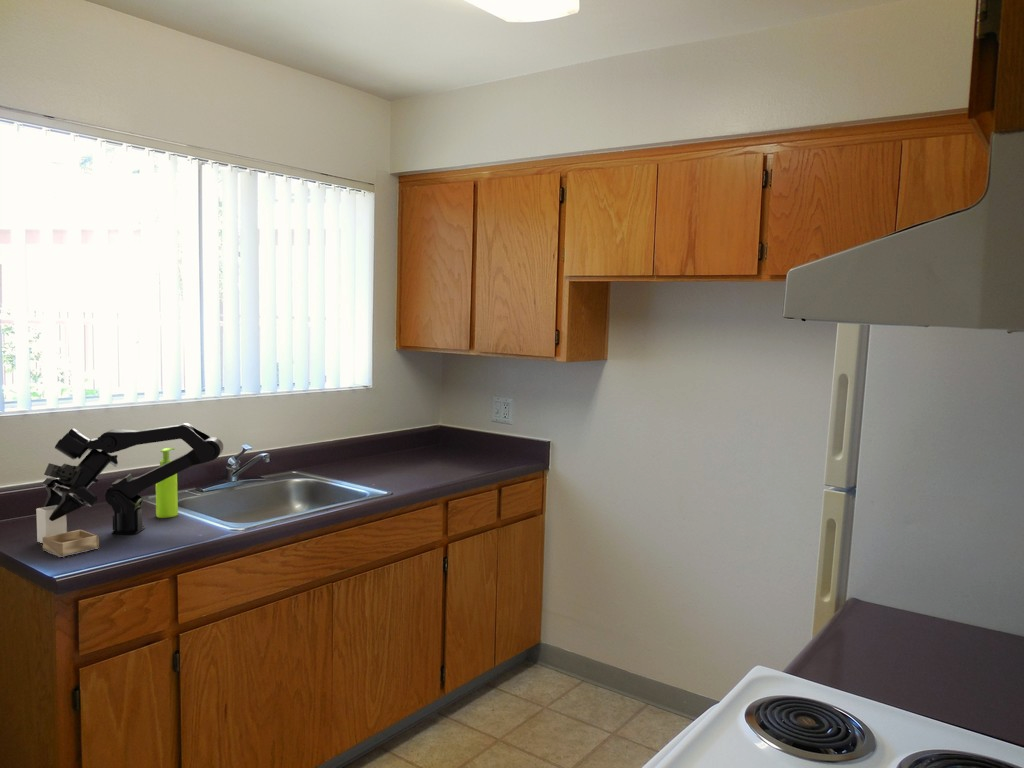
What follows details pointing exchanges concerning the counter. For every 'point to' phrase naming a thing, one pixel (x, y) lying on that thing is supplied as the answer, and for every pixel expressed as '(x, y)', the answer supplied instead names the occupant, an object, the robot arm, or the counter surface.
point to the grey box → (49, 523)
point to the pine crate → (70, 542)
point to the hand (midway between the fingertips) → (45, 518)
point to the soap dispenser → (166, 492)
